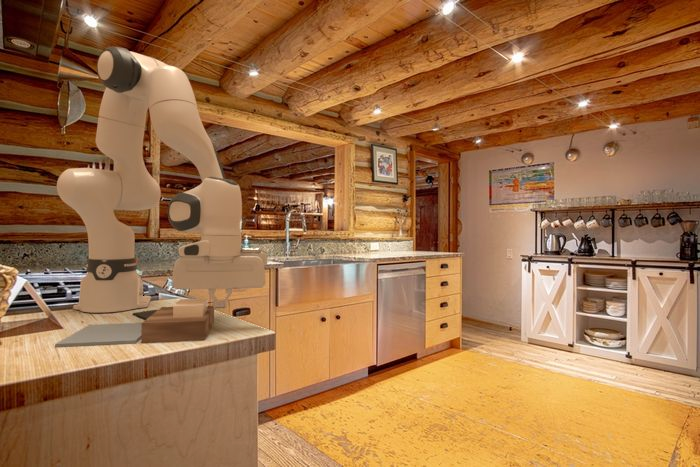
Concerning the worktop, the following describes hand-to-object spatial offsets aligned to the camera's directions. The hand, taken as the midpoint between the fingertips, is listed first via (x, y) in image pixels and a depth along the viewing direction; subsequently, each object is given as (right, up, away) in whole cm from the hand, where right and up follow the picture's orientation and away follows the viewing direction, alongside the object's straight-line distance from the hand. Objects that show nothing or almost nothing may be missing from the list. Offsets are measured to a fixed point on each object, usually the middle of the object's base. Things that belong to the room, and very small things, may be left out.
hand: (220, 307), depth 87 cm
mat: (-21, -5, -6) cm, 23 cm away
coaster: (-6, 0, -2) cm, 6 cm away
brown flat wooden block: (-8, -5, -2) cm, 10 cm away
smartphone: (-20, -5, +11) cm, 24 cm away
